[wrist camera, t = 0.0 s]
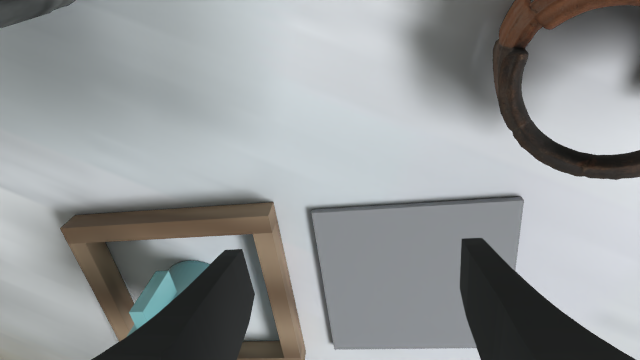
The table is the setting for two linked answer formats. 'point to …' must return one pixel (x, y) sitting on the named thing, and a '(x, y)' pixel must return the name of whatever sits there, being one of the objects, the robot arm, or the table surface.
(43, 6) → the beverage cup
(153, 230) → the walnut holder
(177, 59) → the table surface
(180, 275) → the teal jug
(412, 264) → the gray mat
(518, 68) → the brown looped knot
